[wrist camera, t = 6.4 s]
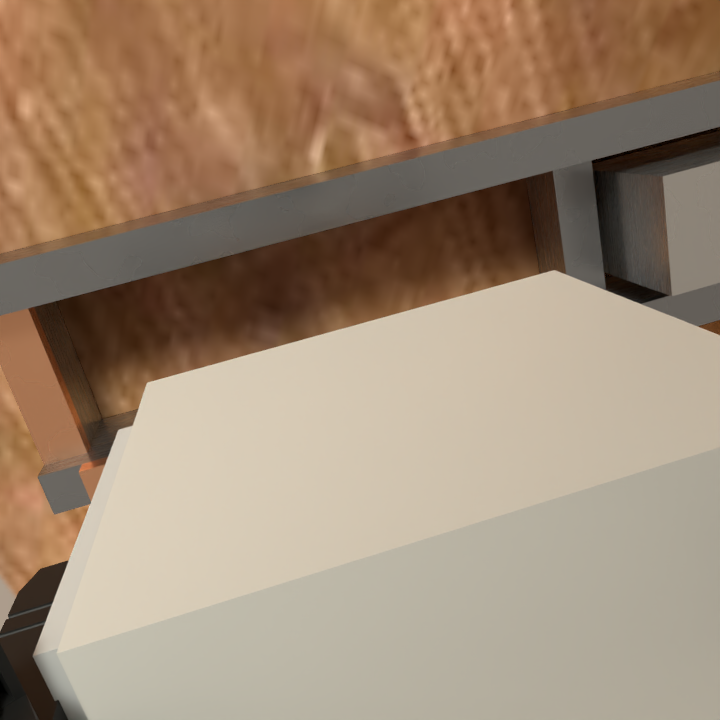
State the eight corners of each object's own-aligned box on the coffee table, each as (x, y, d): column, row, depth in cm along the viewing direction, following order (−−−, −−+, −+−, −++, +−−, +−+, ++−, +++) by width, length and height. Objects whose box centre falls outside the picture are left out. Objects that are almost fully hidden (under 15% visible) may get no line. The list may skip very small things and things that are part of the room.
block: (147, 382, 14) (56, 654, 7) (554, 270, 15) (878, 397, 8) (205, 543, 16) (184, 920, 8) (576, 431, 16) (871, 676, 9)
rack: (-9, 256, 25) (-79, 291, 19) (865, 34, 28) (1025, 7, 22) (78, 463, 27) (39, 546, 22) (861, 239, 31) (1003, 261, 25)
